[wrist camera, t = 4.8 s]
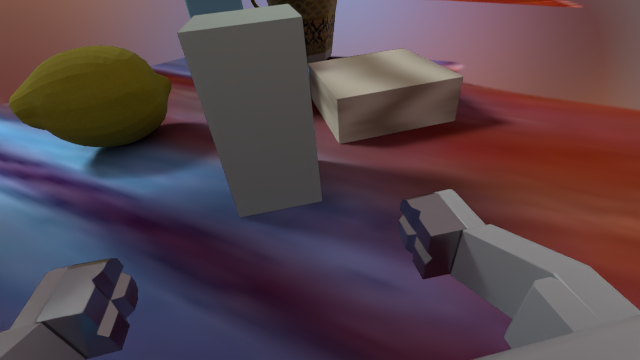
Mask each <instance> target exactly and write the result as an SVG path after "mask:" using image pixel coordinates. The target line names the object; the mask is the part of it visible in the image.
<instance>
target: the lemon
mask: <svg viewBox="0 0 640 360" xmlns="http://www.w3.org/2000/svg"><path fill="white" fill-rule="evenodd" d="M170 91H171V83H170V81H169V80H168V79H167V78H166V77H164V76H162V75H160V74H157V73H155V72H154V71H153V70H152V68H151V67H150V66H149V65H148V63H147V62H146V61H145V60H143V59H142V58H140V57H139V56H138V55H137V54H135V53H133V52H131V51H128V50H126V49H123V48H118V47H114V46H86V47H81V48H75V49H72V50H68V51H64V52H62V53H59V54H57V55H54V56H53V57H51V58H49V59H47V60H45V61H44V62H43V63H41V64H40V65H39V66H38V67H37V68H36V69H35V70H34V71H33V72H32V74H31V75H30V76H29V77H28V78H27V79H26V80H25V81H24V82H23V84H22V85H21V86H20V87H19V88H18V89H17V91H16V92H15V93H14V94H12V96H11V97H10V100H9V107H10V108H11V110H12V111H13V113H14V114H15V115H16V116H17V117H18V118H19V119H20V120H21V121H22V122H23V123H25V124H27V125H29V126H31V127H34V128H38V129H42V130H47V131H49V132H50V133H52V134H53V135H55V136H57V137H58V138H60V139H62V140H65V141H68V142H71V143H74V144H78V145H83V146H89V147H113V146H120V145H125V144H129V143H132V142H135V141H138V140H140V139H141V138H143V137H145V136H147V135H148V134H150V133H151V132H153V131H154V130H155V129H157V128H158V127H159V126H160V125H161V123H162V122H163V121H164V119H165V116H166V113H167V102H168V97H169V93H170Z"/></svg>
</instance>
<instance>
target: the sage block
mask: <svg viewBox="0 0 640 360" xmlns="http://www.w3.org/2000/svg"><path fill="white" fill-rule="evenodd" d="M177 34H178V37H179V40H180V43H181V46H182V49H183V52H184V55H185V58H186V61H187V64H188V67H189V70H190V73H191V76H192V79H193V82H194V85H195V88H196V90H197V93H198V96H199V99H200V102H201V105H202V108H203V111H204V114H205V117H206V120H207V123H208V126H209V129H210V132H211V135H212V138H213V141H214V144H215V147H216V149H217V152H218V155H219V158H220V161H221V164H222V167H223V170H224V173H225V176H226V179H227V182H228V185H229V188H230V191H231V194H232V197H233V200H234V203H235V206H236V208H237V211H238V214H239V217H240V218H241V217H246V216H251V215H256V214H261V213H266V212H271V211H276V210H281V209H286V208H291V207H296V206H301V205H306V204H311V203H316V202H321V201H322V193H321V184H320V175H319V166H318V157H317V147H316V138H315V129H314V120H313V111H312V102H311V93H310V84H309V75H308V65H307V56H306V47H305V38H304V29H303V20H302V16H301V15H300V14H299V13H298V12H297V11H296V10H295V9H293V8H292V7H291V6H290V5H289V4H282V5H274V6H266V7H258V8H251V9H243V10H235V11H227V12H219V13H211V14H203V15H195V16H193V17H192V18H191V19H190V20H189V21H188V22H187V23H186V24H185V25H184V26H183V27H182V29H180V30H179V31H178V32H177Z"/></svg>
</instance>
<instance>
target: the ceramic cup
mask: <svg viewBox="0 0 640 360" xmlns="http://www.w3.org/2000/svg"><path fill="white" fill-rule="evenodd" d="M251 2H252V4H253V5H254V7H255V8H258V7H259V6H258V5H257V4H256V3H255V1H254V0H251ZM267 2H268V5H269V6H274V5H282V4H289V5H290V6H291V7H292V8H293V9H295V10H296V11H297V12H298V13H299V14H300V15H301V16H302V20H303V29H304V38H305V47H306V56H307V63H313V62H318V61H322V60H326V59H327V58H328V57H329V56H331V53H332V43H333V32H334V22H335V11H336V4H337V0H267Z"/></svg>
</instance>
